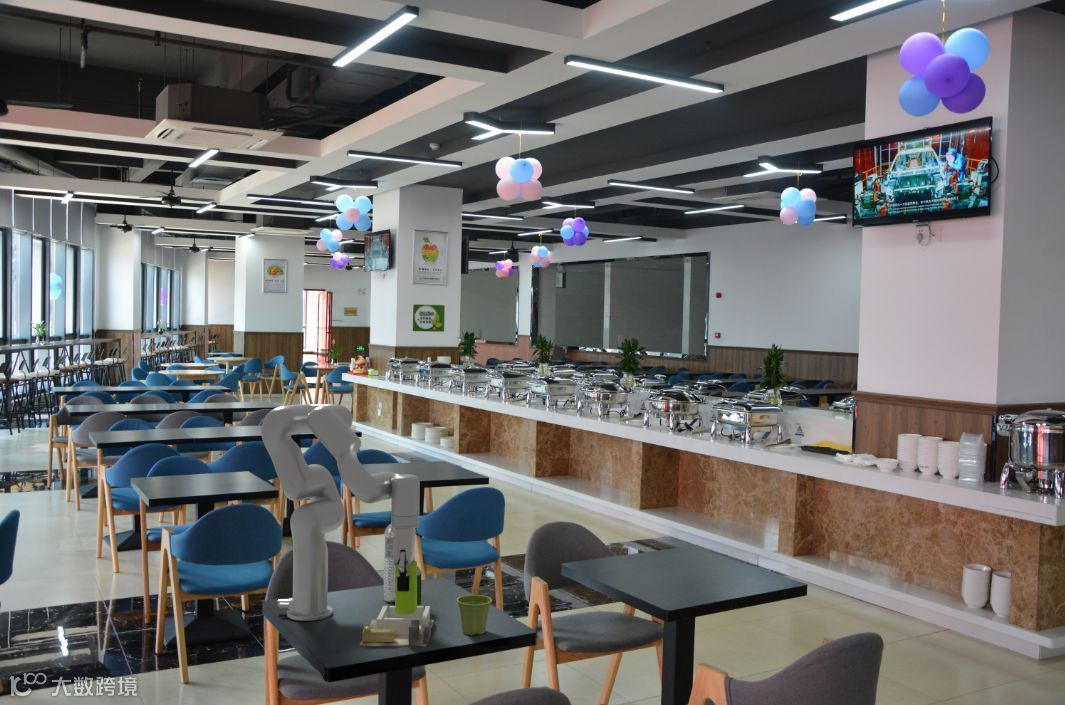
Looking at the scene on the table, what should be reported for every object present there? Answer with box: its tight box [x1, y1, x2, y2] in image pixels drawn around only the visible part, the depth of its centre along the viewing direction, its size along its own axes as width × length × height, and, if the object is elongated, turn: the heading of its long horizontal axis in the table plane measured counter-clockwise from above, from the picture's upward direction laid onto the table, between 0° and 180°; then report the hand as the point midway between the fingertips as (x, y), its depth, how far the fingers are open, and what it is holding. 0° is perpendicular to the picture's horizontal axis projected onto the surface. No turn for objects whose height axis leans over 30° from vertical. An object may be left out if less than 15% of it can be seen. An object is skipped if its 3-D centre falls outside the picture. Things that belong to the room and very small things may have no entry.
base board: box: [359, 619, 435, 647], centre depth 224 cm, size 17×21×5 cm
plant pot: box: [456, 594, 493, 636], centre depth 227 cm, size 9×9×9 cm
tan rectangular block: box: [361, 625, 395, 642], centre depth 216 cm, size 8×2×3 cm, turn 92°
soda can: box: [417, 565, 423, 606], centre depth 246 cm, size 8×8×12 cm
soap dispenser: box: [393, 541, 418, 614], centre depth 228 cm, size 6×7×20 cm
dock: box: [376, 605, 431, 635], centre depth 228 cm, size 13×12×4 cm
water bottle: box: [383, 523, 395, 603], centre depth 255 cm, size 7×7×25 cm
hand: (404, 587), depth 228 cm, fingers closed on soap dispenser, 6 cm apart
